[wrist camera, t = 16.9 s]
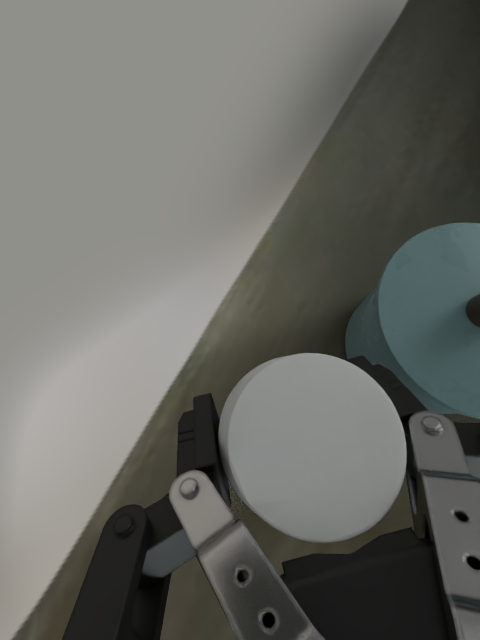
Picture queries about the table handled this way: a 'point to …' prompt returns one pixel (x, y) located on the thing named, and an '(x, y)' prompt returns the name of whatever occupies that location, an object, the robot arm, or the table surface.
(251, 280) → the table surface
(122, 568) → the robot arm
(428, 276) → the pot
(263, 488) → the pill bottle
